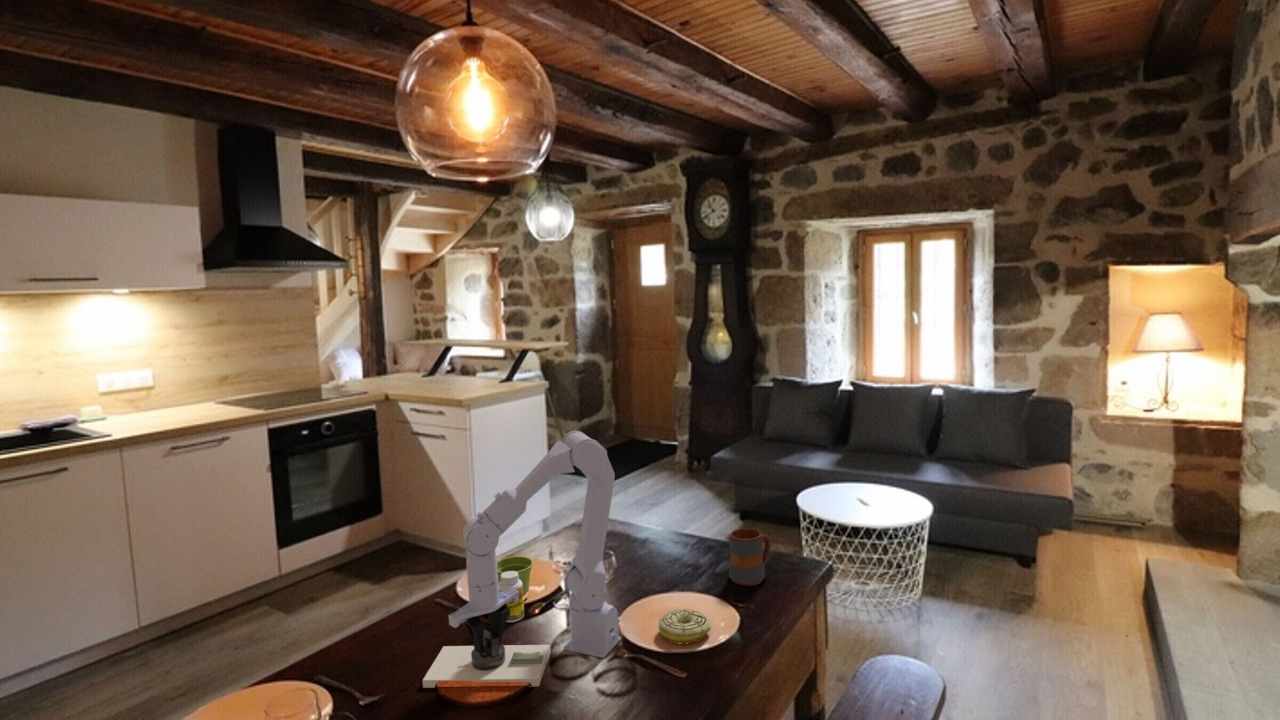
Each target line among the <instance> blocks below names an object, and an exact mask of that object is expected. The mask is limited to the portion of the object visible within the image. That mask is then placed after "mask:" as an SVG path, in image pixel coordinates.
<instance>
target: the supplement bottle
mask: <svg viewBox="0 0 1280 720" xmlns="http://www.w3.org/2000/svg"><path fill="white" fill-rule="evenodd" d="M498 584H499V592H504V591H507V590H510V589H515V590H517V591H519V601H516V602H514V601H512V602H510V603H507V604H506V607H508V608H510V615H509V617H508V619H507V621H506V623H515V622H518V621H520V620H522V619H523V618H524V617H525V604H524V602H525V601H524V600H523V583H522V581H521V580H519V575H518V572H516V571H507V572H504V573H502V574H501V582H500V583H499V582H498Z"/></svg>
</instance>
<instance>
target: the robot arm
mask: <svg viewBox="0 0 1280 720" xmlns="http://www.w3.org/2000/svg"><path fill="white" fill-rule="evenodd" d="M574 467H576V468H577V469H579V470H580V471H581V472H582V474H583V475H584V476H585V477H586V478H587V488H586V494H585V500H584V507H583V508H584V509H583V514H582V520H581V528H580V535H579V542H578V547H577V548H578V549H577V554H576V555H575V556H574V557H573V558H572V560H571V561H572V562H571V565H570V567H569V569H568V570H567V573H566V576H565V579H564V580H565V582H564V583H565V586H566V589H568V590H569V592H570V598H569V601H568V603H569V620H570V621H569V622H570V639H569V641H568V642H566V644H565V645H563V647H562V649H563V650H565V651H569V652H574V653H578V654H583V655H588V656H592V657H597V658H600V659H601V658H602V659H604V658H605V657H606V656H607V655H608V654H609V653H610V651H612V649H614V647H615V646H616V645H617V644H618V643H619V641H621V639H622V637H621V636H620V635H619V633H620V631H619V613H618V609H617V608H616V606H613V605H610V604H609V603H608V602H606V601H607V598H608V588H607V585H606V577H607V576H606V575H607V574H606V569H605V565H604V561H603V559H604V553H605V545H606V539H607V531H608V525H609V519H610V512H611V506H612V499H613V498H612V497H613V491H614V485H615V479H616V478H615V477H616V476H615V475H616V474H615V472H614V469H613V467H612V464H611V462H610V460H609V457H608V450H607V449H606V448H605V447H604V446H603V445H602V444H600V443H599V441H597V440H595V439H592V438H590V437H589V436H588V435H586V434H585V433H584V432H582V431H580V430H572V431H569V432H567V433H566V434H564V436H563V437H562V438H561V440H558V441H557V442H555V443H554V445H553V446H552V447H551V448H550V450H549V451H548V453H546V455H545V456H544V457H543V458H542V459H541V460H540V461H539V462H538V464H537V465H535V467H534V468H533V469H531V471H530V472H529V473H528V474H527V476H525V477H524V478H523V479H522V480H521V482H519V484H518V485H517V486H516V487H515V488H510V489H505V490H503V491H502V493H501V492H497V493H496V494H495V495H494V500H493V501H492V503H490V504H488V506H487V508H485V509H483V511H482V512H481V511H479V512H478V513H477V514H476V517H475V518H471V519H470V520H469V521H467V523H466V524H465V525H464V527H463V531H462V533H461V538H462V539H463V541H464V542H465V544H466V547H465V548H466V550H465V551H466V552H465V555H466V563H465V564H466V575H467V576H466V577H467V587H468V588H467V590H468V601H469V602H467V603H466V604H465V605H463V606H462V607H460V608H459V609H458V610H456V611H454V612H452V613H451V614H448V625H449V626H451V627H452V628H454V629H456V628H458V627H459V626H460V624H462V625H463V627H464V629H466V631H467V632H468V635H469V637H470V640H471V642H472V646H474V649H475V651H476V652H478V653H479V654H482V653H484V641H483V635H484V629H485V626H486V623H485V622H484V621H482V620H481V617H480V616H482V615H486V614H487V617H488V621H489V629H490V631H489V632H490V633H492V634H494V635H495V636H497V637H499V645H500V644H502V638H503V633H504V628H505V626H506V623H507V622H506V621H507V619H508V617H509V615H510V608H508V607H506V604H507V603H510V602H512V601H514V602H516V601H519V591H517V590H515V589H510V590H507V591H504V592H499V582H498V569H497V561H498V558H497V557H498V556H497V555H496V549H497V547H498V545H499V539H500V537H501V536H502V535H503V534H504V533H506V531H507V530H508V529H509V528H510V527H511V526H512V525H514V524H515V522H516V521H517V520H518V519H519V518H520V517H521V516H522V515H523V514H524V513H525V512H526V511H527V505H528V503H527V502H528V501H529V500H530V499H531V498H532V497H534V496H535V494H536V493H538V492H539V491H540V490H542V488H544V486H545V485H547V484H548V483H549V482H550V481H551V480H552V479H553V478H554V477H555V476H556V475H558V474H559V475H560V474H571V473H575V469H574Z"/></svg>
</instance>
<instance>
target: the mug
mask: <svg viewBox="0 0 1280 720" xmlns="http://www.w3.org/2000/svg"><path fill="white" fill-rule="evenodd" d="M763 541H764V547H763ZM771 545H772V541H771V538H770V536H769V535H768V534H766V533H763V534H762V533H761V532H760V531H759V530H757V529H753V528H738V529H734V530H732V531H731V532H730V533H729V552H730V560H729V564H728V565H729V566H728V567H729V569H728V571H729V572H728V574H729V578H730V579H731V581H732V583H734V584H736V585H738V586H743V587H753V586H754V587H755V586H758V585H760V584H761V583H762V582H763V580H764V579H765V575H766V574H765V573H766V572H765V566H766V564H767V563H768V561H769V558H770V555H771V554H770V553H771V547H772V546H771Z"/></svg>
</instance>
